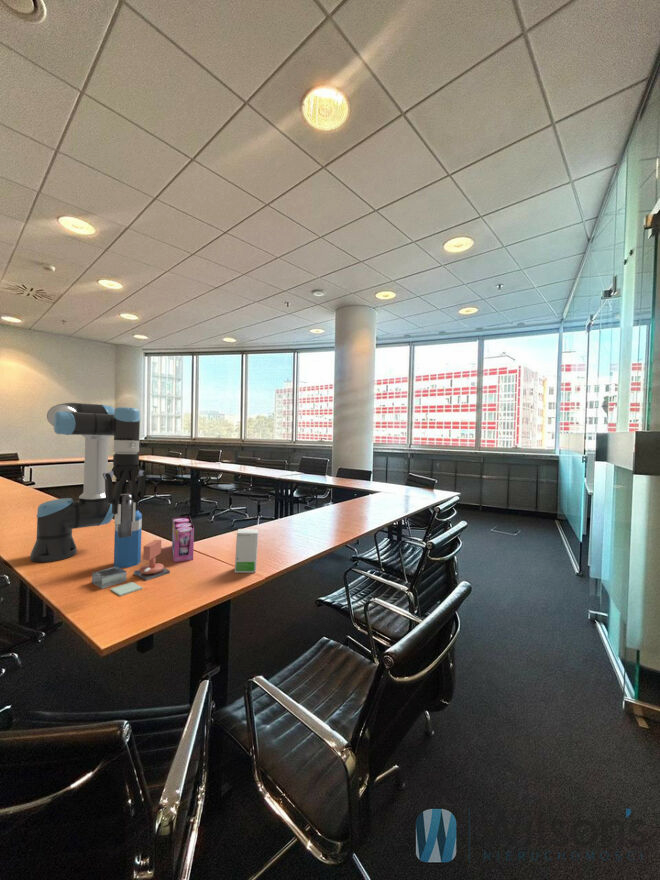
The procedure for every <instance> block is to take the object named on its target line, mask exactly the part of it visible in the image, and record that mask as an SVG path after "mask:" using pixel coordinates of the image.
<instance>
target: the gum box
mask: <svg viewBox="0 0 660 880" xmlns="http://www.w3.org/2000/svg"><path fill="white" fill-rule="evenodd" d="M171 528H172V534H171V535H172V536H171V537H172V540H171V541H172V542H171V550H172V561H173V563H176V562H185V561H193V560H194V545H195V544H194V541H195V539H194V538H195V536H194V535H195V526H194V524H193V522H192V518H191V516H179V517H178V516H177V517H172V527H171Z"/></svg>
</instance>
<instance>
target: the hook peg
mask: <svg viewBox="0 0 660 880" xmlns="http://www.w3.org/2000/svg"><path fill="white" fill-rule="evenodd" d="M118 504H121V524H118V537H120V538H124V537H129V536H131V532H132V494H131V493H122V494H120V499H119V503H118Z"/></svg>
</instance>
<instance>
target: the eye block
mask: <svg viewBox="0 0 660 880" xmlns="http://www.w3.org/2000/svg"><path fill="white" fill-rule="evenodd" d="M127 572H128V571H126V570H124V569H123V568H119V567H117V566H111V567H108V568H105V569H102V570H97V571H93V572H91V583H92V584H93V585H95V586H97V587H98V588H99V589H101V590H104V589H106V588H109V587H113V586H116V585H119V584H120V585H121V584H122V583H126V582H127V579H128V578H127V577H128V576H127V574H128V573H127Z"/></svg>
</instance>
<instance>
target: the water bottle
mask: <svg viewBox="0 0 660 880" xmlns="http://www.w3.org/2000/svg"><path fill="white" fill-rule="evenodd" d="M132 502H133V501H132ZM142 522H143V514H142V513H141V512H140V510H139V509H138V510H137V511H135V521H134V522H132V532H131V536H129V537H124V538H120V537H118V524H116V523H114V543H113V544H114V545H113V548H114V549H113V567H115V566H117V567H119V568H121V569H123V568H124V569H125V568H131V567H134V566H138V565H139V564H140V563H141V561H142V560H141V558H142V557H141V555H142V527H143V525H142Z"/></svg>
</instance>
